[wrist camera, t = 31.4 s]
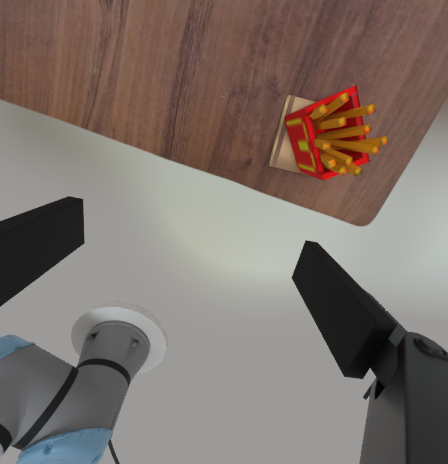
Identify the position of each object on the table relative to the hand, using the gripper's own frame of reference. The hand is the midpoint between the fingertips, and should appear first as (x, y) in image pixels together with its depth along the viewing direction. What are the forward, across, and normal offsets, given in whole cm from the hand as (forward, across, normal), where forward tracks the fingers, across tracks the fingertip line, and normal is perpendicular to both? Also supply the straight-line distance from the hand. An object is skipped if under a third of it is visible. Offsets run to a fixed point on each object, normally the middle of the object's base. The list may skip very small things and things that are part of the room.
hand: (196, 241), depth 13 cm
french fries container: (+28, +15, +9) cm, 33 cm away
